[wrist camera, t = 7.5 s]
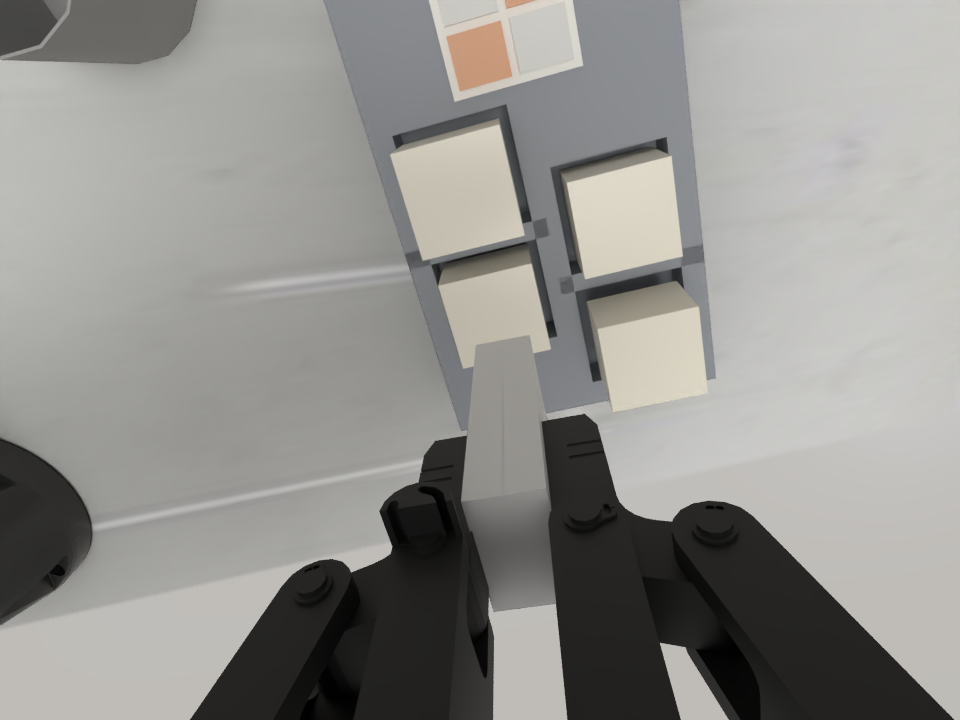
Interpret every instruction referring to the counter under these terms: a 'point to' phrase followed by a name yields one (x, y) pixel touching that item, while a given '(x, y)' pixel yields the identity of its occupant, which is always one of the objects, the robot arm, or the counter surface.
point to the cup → (92, 29)
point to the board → (531, 142)
